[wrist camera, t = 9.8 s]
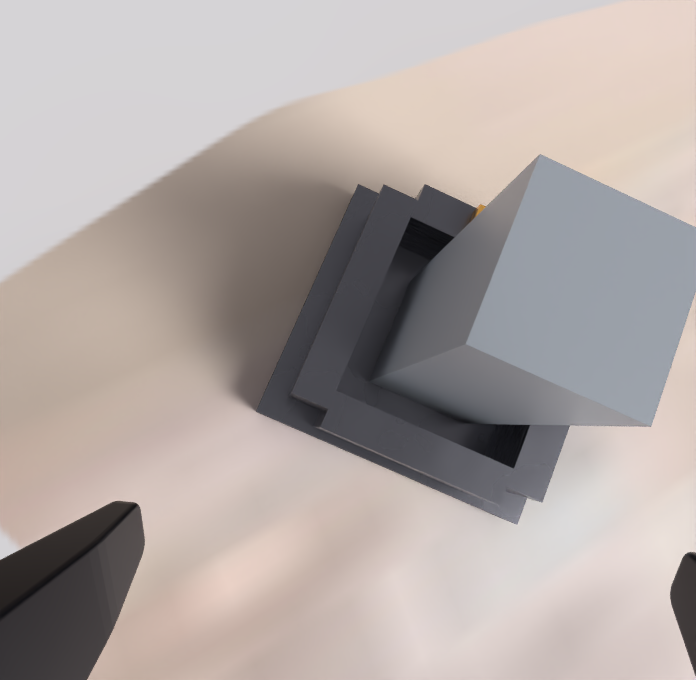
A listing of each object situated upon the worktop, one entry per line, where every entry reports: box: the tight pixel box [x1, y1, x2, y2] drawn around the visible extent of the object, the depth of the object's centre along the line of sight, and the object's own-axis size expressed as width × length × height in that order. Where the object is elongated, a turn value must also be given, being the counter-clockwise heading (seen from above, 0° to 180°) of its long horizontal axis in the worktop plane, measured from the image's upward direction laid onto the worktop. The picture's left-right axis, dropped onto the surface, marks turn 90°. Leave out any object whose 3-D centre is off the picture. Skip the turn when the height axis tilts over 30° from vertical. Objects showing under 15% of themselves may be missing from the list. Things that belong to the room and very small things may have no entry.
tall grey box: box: [369, 154, 696, 427], centre depth 17 cm, size 4×4×11 cm
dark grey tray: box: [256, 184, 570, 524], centre depth 21 cm, size 9×10×5 cm
